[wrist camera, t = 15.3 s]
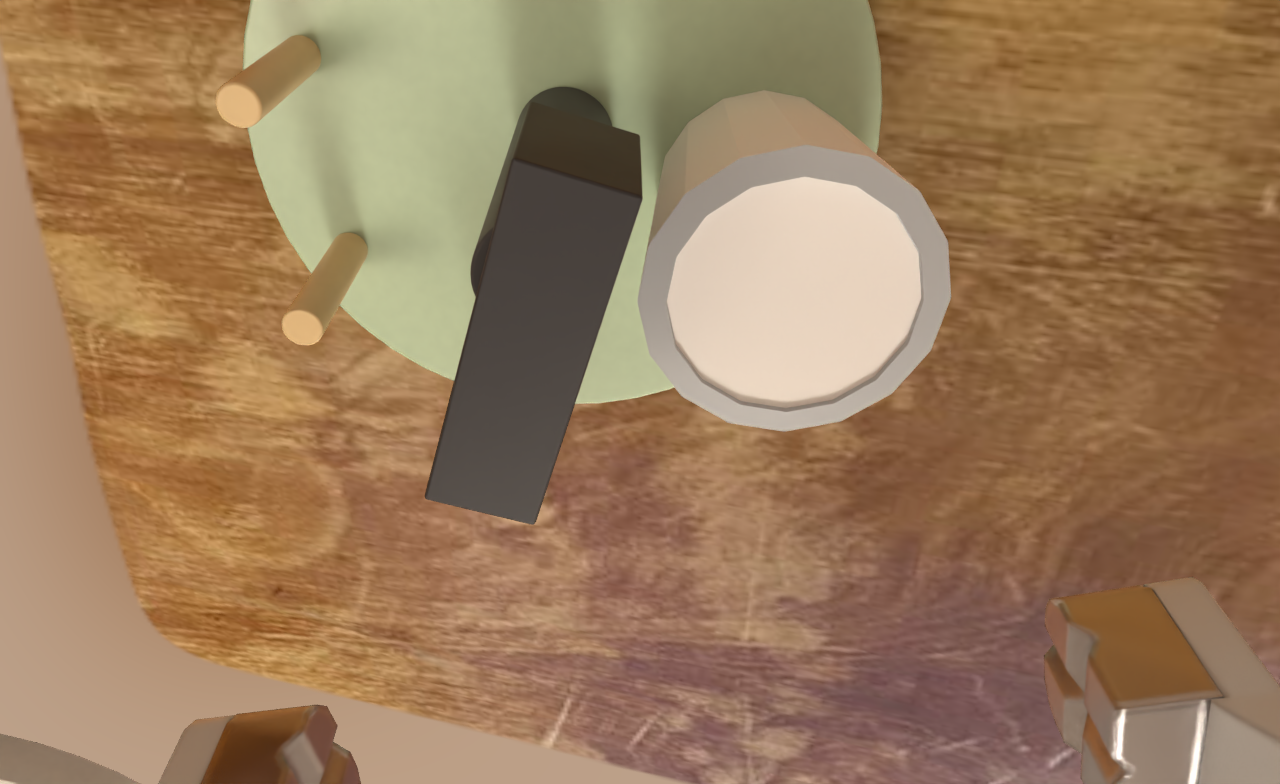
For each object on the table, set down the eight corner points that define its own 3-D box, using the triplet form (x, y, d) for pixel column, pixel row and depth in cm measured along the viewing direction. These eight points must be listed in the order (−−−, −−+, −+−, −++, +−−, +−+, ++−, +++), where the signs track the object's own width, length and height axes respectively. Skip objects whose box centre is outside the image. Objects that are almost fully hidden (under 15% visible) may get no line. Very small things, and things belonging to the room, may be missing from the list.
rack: (746, 448, 33) (810, 794, 22) (220, 309, 30) (-28, 623, 19) (988, -97, 25) (1297, -6, 14) (297, -353, 22) (-55, -514, 11)
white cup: (635, 306, 30) (638, 436, 24) (633, 67, 26) (635, 148, 20) (869, 303, 30) (930, 432, 24) (897, 64, 26) (978, 144, 20)
